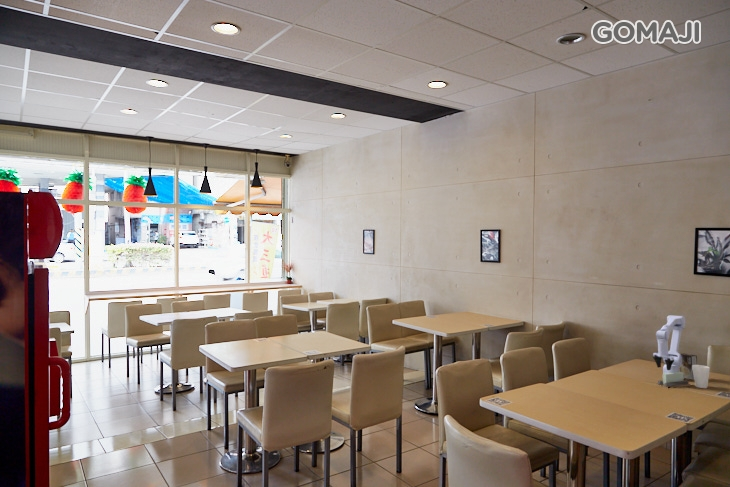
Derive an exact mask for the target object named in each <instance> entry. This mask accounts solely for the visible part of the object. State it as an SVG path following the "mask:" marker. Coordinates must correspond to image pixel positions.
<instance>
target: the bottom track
mask: <svg viewBox="0 0 730 487" xmlns="http://www.w3.org/2000/svg"><path fill="white" fill-rule="evenodd" d="M657 384H658V386H660V385H661V387H663V386H665V387H664V388H666V387H673V388H681V387H689V386H691V383H689V380H684V381H678V382H669V383H665V385H664V384H663V380H657V382H656V385H657Z"/></svg>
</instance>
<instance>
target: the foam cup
mask: <svg viewBox="0 0 730 487" xmlns="http://www.w3.org/2000/svg"><path fill="white" fill-rule="evenodd" d="M692 370H693V375H694V380H693V381H694V385H695V387H696V388H701V389H707V388H708V386H709V377H710V366H707V365H701V364H697V365H692Z"/></svg>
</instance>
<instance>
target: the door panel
mask: <svg viewBox="0 0 730 487" xmlns="http://www.w3.org/2000/svg"><path fill="white" fill-rule="evenodd" d="M662 376H663V377H662V381H663V384H664V385H665V383H669V382H678V381H685V380H684V379H685V378H683V372H680V371H679V372H673V373H664V374H663V373H662Z"/></svg>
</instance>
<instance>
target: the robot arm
mask: <svg viewBox="0 0 730 487" xmlns="http://www.w3.org/2000/svg"><path fill="white" fill-rule="evenodd" d="M686 321H687V320H686V318H685V316H684V315H671V314H669V315H668V316H666V324H664V325H662V327H661V328H660V329H659V330H657V331H656V332H655V338H656V341H657V351H658V352H653V353H652V355H653V357H652V359H653V360H654V362H655V365H656V366H657V368H662V377H661V378H663V374H664V373H673V372H680V369H679V366H681V365H682V356H681V355H680V354H681V353H680V352H679V349H680V342H681V337H682V336H681V335H682V331H683V330H684V329H685V327H686ZM671 333H672V334H671ZM670 334H671V340H670V347H669V343H668V340H669V338H670ZM669 348H670V349H669ZM662 359H663V363H664V365H663V366H662Z"/></svg>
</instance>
